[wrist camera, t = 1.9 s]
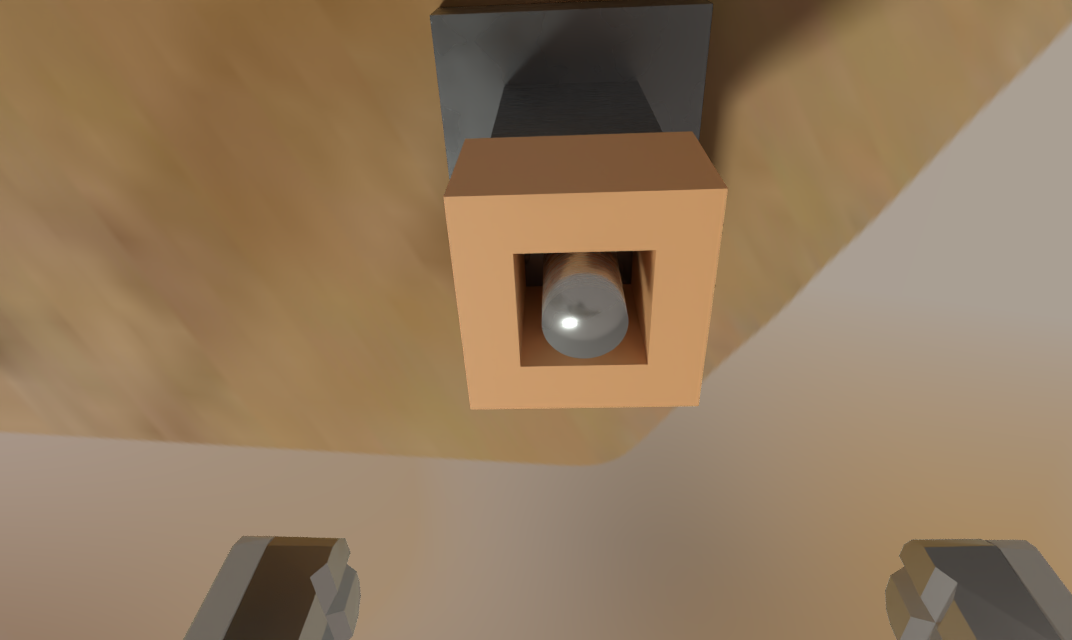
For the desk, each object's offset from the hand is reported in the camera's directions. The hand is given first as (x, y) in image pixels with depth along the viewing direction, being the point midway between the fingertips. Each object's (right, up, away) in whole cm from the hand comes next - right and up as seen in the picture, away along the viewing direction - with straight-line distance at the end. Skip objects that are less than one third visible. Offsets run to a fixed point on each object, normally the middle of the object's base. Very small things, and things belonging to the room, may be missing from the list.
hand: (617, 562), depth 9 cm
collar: (0, +6, +9) cm, 11 cm away
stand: (0, +12, +17) cm, 21 cm away
